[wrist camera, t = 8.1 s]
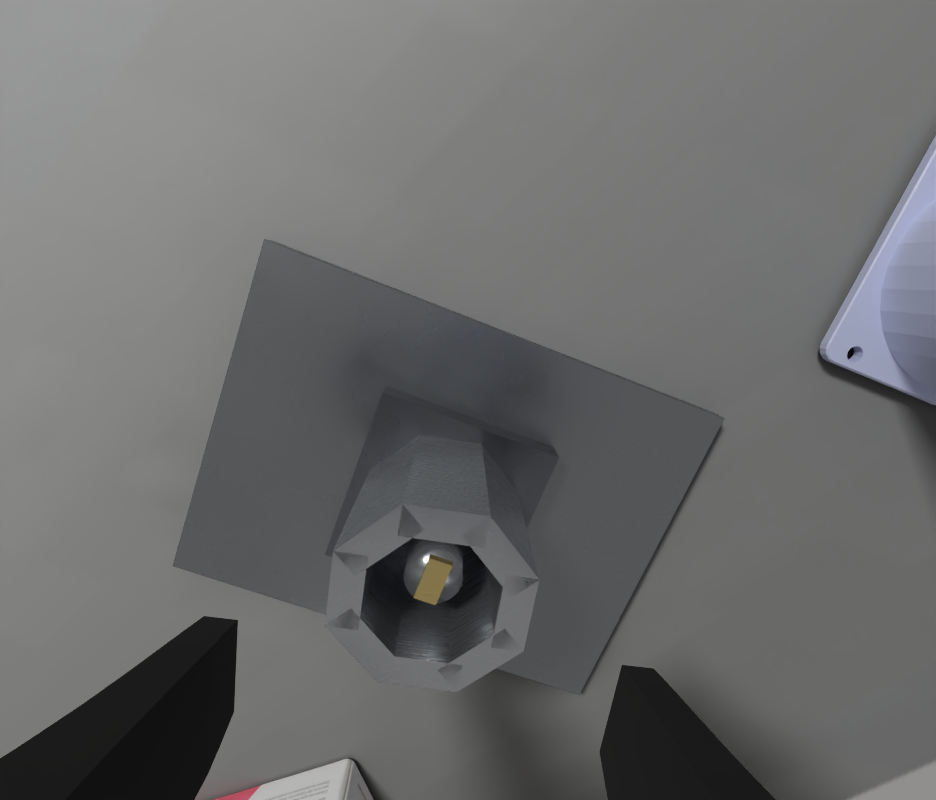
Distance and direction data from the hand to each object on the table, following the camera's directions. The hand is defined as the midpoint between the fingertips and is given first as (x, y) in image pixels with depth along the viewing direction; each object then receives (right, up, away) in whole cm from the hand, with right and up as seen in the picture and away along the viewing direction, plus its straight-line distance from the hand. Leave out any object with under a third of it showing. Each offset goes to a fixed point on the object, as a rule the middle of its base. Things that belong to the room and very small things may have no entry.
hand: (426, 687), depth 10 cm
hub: (0, +2, +7) cm, 8 cm away
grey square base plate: (0, +2, +9) cm, 9 cm away
